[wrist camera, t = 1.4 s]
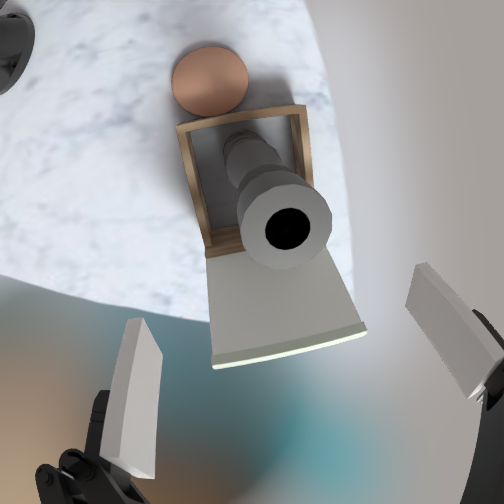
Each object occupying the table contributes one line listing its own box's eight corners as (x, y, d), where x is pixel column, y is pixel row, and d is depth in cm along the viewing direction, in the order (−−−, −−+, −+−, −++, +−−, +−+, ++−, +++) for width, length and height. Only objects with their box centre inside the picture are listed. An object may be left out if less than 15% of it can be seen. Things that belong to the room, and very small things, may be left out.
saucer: (167, 57, 29) (166, 55, 28) (241, 43, 30) (242, 41, 29) (180, 123, 35) (179, 123, 34) (252, 109, 35) (253, 109, 34)
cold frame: (180, 123, 35) (166, 132, 24) (294, 104, 35) (326, 107, 25) (216, 271, 48) (218, 321, 37) (308, 253, 48) (332, 297, 38)
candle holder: (231, 178, 40) (254, 285, 18) (216, 139, 37) (219, 201, 15) (272, 164, 39) (342, 253, 18) (259, 125, 36) (325, 165, 15)
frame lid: (204, 258, 38) (203, 346, 25) (321, 235, 38) (371, 308, 25) (211, 282, 40) (214, 370, 27) (322, 260, 41) (366, 336, 28)
